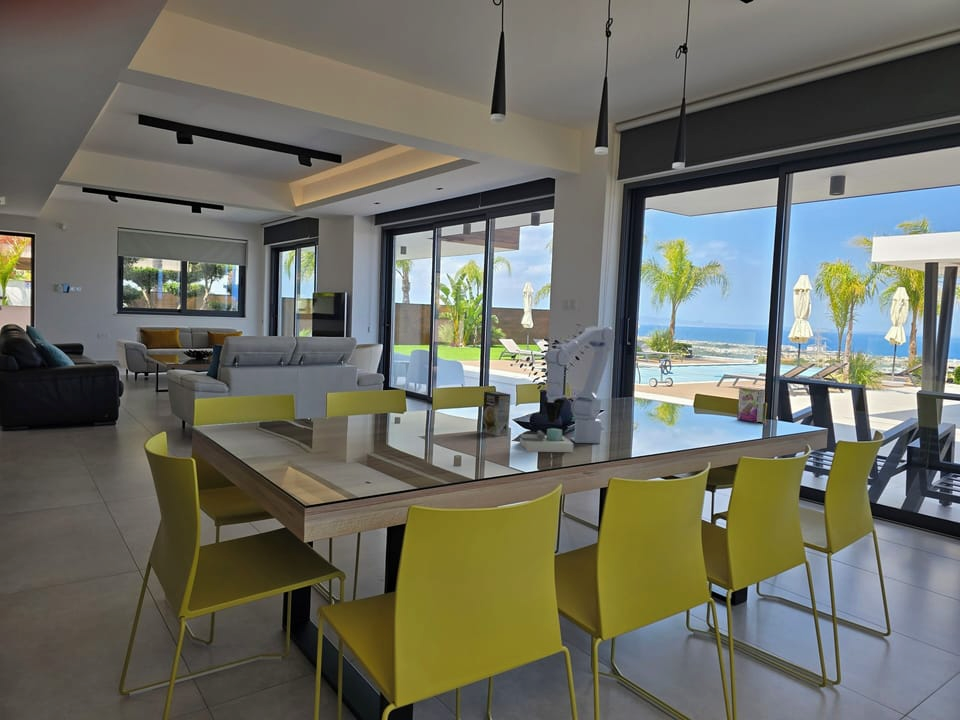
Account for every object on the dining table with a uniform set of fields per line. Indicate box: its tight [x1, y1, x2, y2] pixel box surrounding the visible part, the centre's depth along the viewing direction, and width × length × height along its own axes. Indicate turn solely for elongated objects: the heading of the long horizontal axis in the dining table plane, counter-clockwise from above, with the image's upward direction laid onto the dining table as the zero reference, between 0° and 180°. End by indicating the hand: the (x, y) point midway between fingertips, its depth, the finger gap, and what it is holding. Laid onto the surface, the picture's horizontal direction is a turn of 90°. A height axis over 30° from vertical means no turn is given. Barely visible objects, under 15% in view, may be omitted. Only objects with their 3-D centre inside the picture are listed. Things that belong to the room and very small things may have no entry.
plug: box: [546, 427, 563, 441], centre depth 221 cm, size 4×4×6 cm
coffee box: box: [482, 390, 511, 437], centre depth 244 cm, size 9×6×16 cm
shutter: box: [519, 430, 546, 441], centre depth 220 cm, size 8×7×2 cm
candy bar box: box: [736, 386, 766, 424], centre depth 309 cm, size 11×5×16 cm, turn 30°
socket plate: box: [519, 435, 574, 453], centre depth 221 cm, size 16×14×3 cm
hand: (553, 420), depth 224 cm, fingers open, 7 cm apart
